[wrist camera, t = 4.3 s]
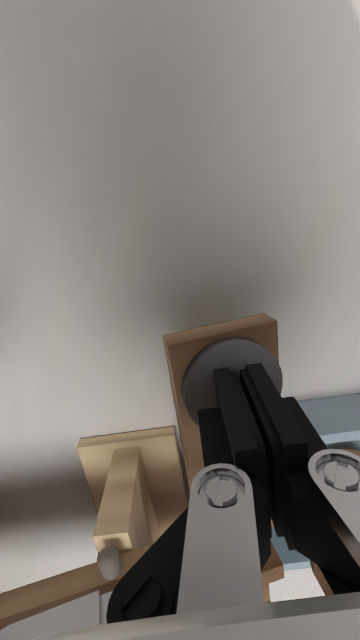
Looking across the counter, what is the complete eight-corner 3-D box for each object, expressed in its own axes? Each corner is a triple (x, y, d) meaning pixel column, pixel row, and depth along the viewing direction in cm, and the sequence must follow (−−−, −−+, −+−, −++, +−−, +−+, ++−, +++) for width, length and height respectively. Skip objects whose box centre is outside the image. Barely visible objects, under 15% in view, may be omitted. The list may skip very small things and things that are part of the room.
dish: (225, 407, 20) (236, 446, 16) (388, 385, 19) (432, 420, 16) (238, 522, 23) (249, 574, 20) (377, 505, 23) (411, 555, 20)
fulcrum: (80, 438, 20) (41, 534, 14) (174, 426, 20) (174, 518, 14) (110, 537, 23) (89, 651, 17) (192, 527, 23) (198, 638, 17)
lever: (-439, 466, 9) (-653, 562, 6) (263, 313, 12) (303, 336, 10) (-143, 752, 14) (-194, 862, 12) (278, 592, 18) (306, 651, 15)
